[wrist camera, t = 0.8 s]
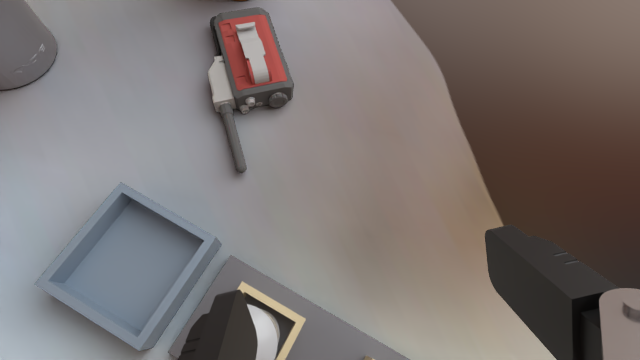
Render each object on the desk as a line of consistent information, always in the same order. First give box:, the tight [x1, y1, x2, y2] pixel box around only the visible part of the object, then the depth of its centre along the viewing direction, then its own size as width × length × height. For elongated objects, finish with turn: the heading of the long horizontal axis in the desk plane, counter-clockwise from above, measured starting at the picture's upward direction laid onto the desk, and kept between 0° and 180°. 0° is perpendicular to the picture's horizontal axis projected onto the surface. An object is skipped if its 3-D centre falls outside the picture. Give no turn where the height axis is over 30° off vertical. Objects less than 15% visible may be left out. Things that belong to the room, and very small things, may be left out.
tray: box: [34, 182, 222, 351], centre depth 30 cm, size 10×10×3 cm
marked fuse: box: [247, 304, 280, 360], centre depth 24 cm, size 4×4×13 cm
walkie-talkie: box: [208, 7, 294, 173], centre depth 38 cm, size 9×4×20 cm
